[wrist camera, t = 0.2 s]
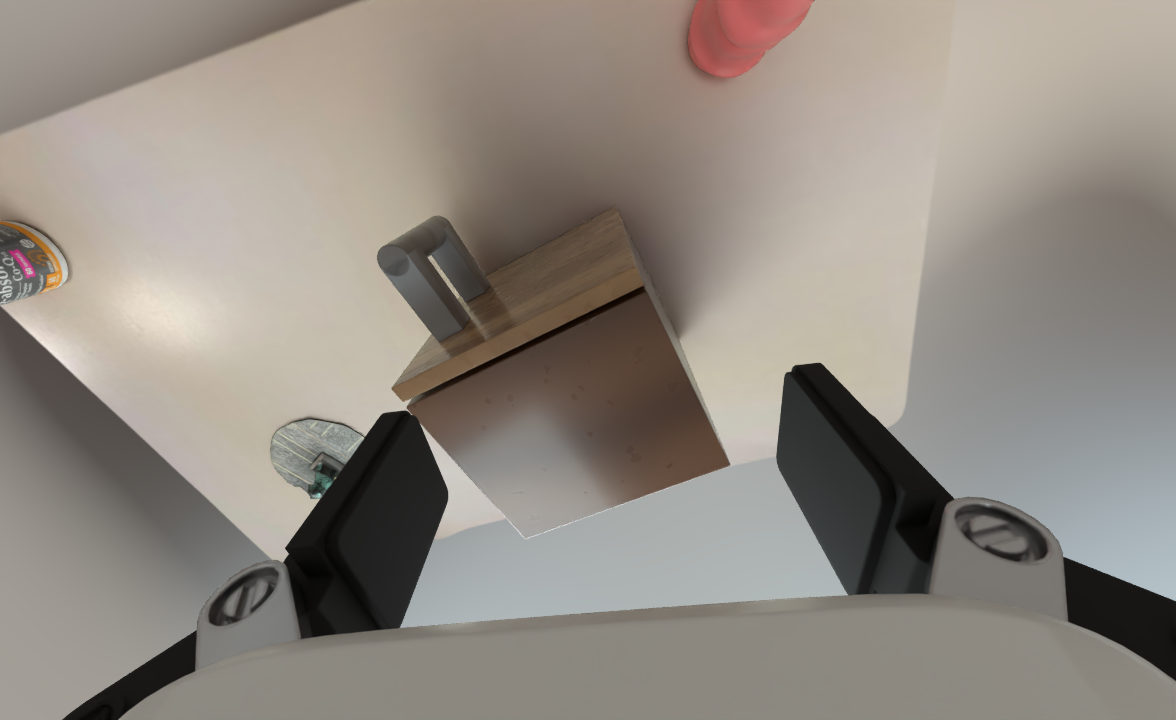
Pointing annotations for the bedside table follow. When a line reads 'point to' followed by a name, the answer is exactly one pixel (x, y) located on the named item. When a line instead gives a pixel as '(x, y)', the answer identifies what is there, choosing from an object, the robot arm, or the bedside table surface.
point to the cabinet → (578, 416)
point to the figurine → (740, 32)
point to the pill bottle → (28, 263)
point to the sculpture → (313, 453)
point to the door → (501, 292)
